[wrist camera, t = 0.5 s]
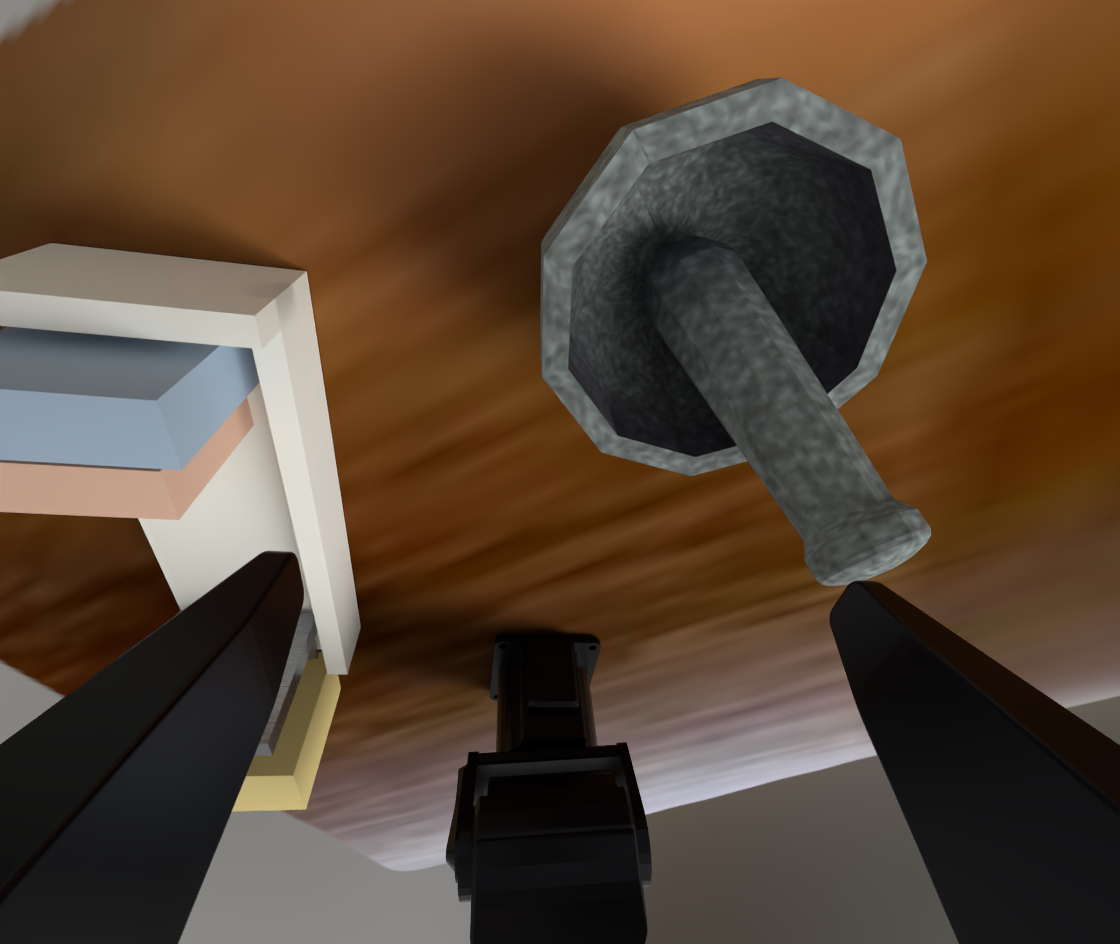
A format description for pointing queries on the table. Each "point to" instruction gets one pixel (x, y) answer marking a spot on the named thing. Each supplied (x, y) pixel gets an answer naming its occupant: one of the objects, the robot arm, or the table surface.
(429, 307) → the table surface
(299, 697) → the ochre book
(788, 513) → the mortar and pestle
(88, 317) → the shelf
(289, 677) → the bookend
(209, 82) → the table surface
